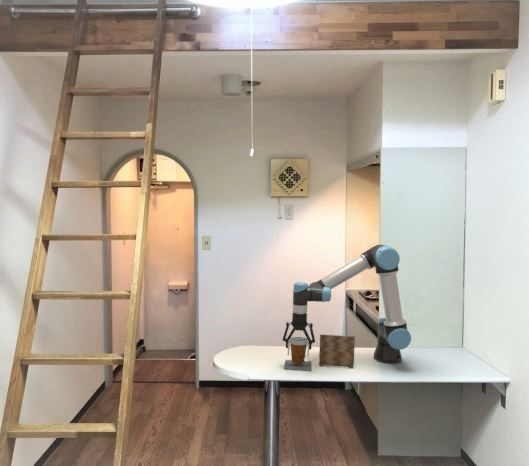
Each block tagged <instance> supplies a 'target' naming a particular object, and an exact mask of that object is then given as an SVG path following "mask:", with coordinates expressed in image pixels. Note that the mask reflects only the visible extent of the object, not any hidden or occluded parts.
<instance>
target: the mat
mask: <svg viewBox="0 0 529 466" xmlns="http://www.w3.org/2000/svg"><path fill="white" fill-rule="evenodd" d="M283 370H290V371H303V372H312V361H311V360H310V361H309V360H304V363H301V364H297V363H293V362H292V359H285V360H284V365H283Z"/></svg>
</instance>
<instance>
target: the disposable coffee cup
mask: <svg viewBox="0 0 529 466" xmlns="http://www.w3.org/2000/svg"><path fill="white" fill-rule="evenodd" d="M289 341H290V352H291V353H290V354H291V360H292V362H293V363H297V364H301V363H304V361H305V358H306V354H307V353H306V352H307V348H308V343H309V342H308V339H307V337H302V336H293V337H292V336H291V338H290V340H289Z"/></svg>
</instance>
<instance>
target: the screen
mask: <svg viewBox="0 0 529 466" xmlns="http://www.w3.org/2000/svg"><path fill="white" fill-rule="evenodd" d="M355 342H356V336H354V335H353V336H352V335H338V334H334V335H322V334H320V335H319V353H318V354H319V355H318V356H319V358H318V365H319V367H323V366H324V367H325V366H327V367H328V366H329V367H345V368H348V369H354V367H355V366H354V365H355Z"/></svg>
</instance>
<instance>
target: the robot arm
mask: <svg viewBox="0 0 529 466" xmlns="http://www.w3.org/2000/svg"><path fill="white" fill-rule="evenodd" d="M399 263H400V255H399V253H398V251H397V250H396V248H394V247H392V246H389V245H385V244H376V245H373V247H370V248H369V249H367V250H365V251H364V252H362V253H360V255H359V256H358V258H357V257H356V258H355V259H354V260H352V261H350V262H349V263H347V264H345V265H343V266H342V267H340V268H338V269H336V270H335V271H333V272H331V273H330V274H328V275H326V276H324V277H322V278H320V279H319V280H318V281H316V282H315V281H313V282H311V283H309V284H308V283H307V282H303V281H301V282H300V281H297V282H295V283H294V284H293V291H292V293H293V294H292V314H291V315H292V316H291V317H292V320H291V321H286V322H285V323H286V324H285V325H286V326H285V331H284V334H283V337H282V341H283V342H285V348H286V349H287V356H290V351H291V344H290V339H291V338H292V336H293V334H294V333H295V331H301V332H303V333H304V335H305V338H306V339H307V341H308V343H307V350H306V352H307V353H306V354H307V355H306V356H307V357H309V356H310V355H309V354H310V350H312V344H315V343H316V339H315V334H314V330H313V327H314V325H313V323H312V322H311V323H310V322H308V321H307V320H308V313H307V312H308V302H321V303H326V302H327V303H329V302H331V300H332V290H333V289H334V288H336V287H338V286H340V285H341V284H344V283H345V282H347V281H349V280H350V279H352V278H354V277H355V276H357V275H359V274H361V273H362V272H365V271H366V270H372V269H373V268H374V269H375V274H377V275H378V276H379V281H380V282H379V283H380V289H381V296H382V301H383V308H384V309H383V310H384V315H385V317H379V319H378V320H377V321H378V323H377V344H376V347H375V350H374V353H373V360H375V361H377V362H380V363H384V364H399V363H402V360H403V359H402V358H403V357H402V352H401V350H404V349H406V348H408V346H409V345H410V344H411V343H412V336H411V335H412V334H411V333H410V331H409V330H408V325H407V324H408V323H407V320H406V319H404V317H403V312H402V303H401V298H400V291H399V283H398V278H397V273H399ZM290 326H292V329H291V331H290V333H289V334H288V330H289V327H290ZM307 326H308V328H309V332H310V335H311V337H310V335H309V333H308V331H307V329H306V328H307ZM287 334H288V336H287ZM286 337H287V338H286Z"/></svg>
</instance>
